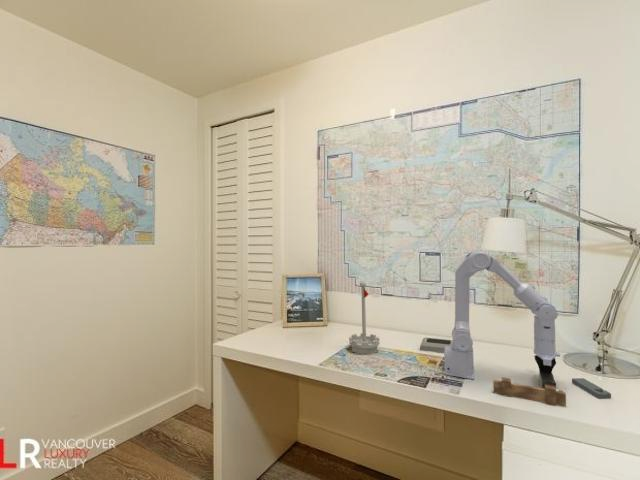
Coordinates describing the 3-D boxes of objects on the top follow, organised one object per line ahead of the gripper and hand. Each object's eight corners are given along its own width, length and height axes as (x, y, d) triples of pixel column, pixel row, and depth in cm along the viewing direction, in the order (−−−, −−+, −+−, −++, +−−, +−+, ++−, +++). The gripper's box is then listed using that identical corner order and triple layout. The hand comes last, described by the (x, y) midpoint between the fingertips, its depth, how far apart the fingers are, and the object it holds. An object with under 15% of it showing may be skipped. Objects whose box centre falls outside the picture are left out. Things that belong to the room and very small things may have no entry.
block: (542, 394, 98) (541, 380, 98) (539, 383, 105) (539, 370, 105) (555, 396, 96) (555, 382, 96) (552, 385, 103) (552, 372, 103)
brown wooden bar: (493, 393, 99) (493, 378, 99) (494, 386, 104) (493, 372, 104) (566, 407, 90) (566, 391, 90) (563, 399, 95) (563, 384, 95)
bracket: (583, 384, 105) (583, 377, 105) (611, 400, 95) (611, 393, 95) (571, 384, 105) (571, 378, 105) (598, 400, 95) (597, 393, 95)
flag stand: (344, 347, 144) (343, 280, 144) (371, 343, 148) (369, 278, 148) (357, 357, 132) (355, 284, 132) (385, 352, 136) (383, 281, 136)
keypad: (458, 346, 132) (420, 342, 138) (458, 355, 132) (420, 351, 138) (458, 339, 140) (422, 336, 147) (458, 348, 141) (422, 344, 147)
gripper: (563, 347, 97) (564, 391, 97) (556, 333, 110) (557, 373, 110) (535, 343, 100) (535, 387, 101) (531, 331, 113) (532, 369, 113)
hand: (545, 379), depth 105 cm, fingers closed
